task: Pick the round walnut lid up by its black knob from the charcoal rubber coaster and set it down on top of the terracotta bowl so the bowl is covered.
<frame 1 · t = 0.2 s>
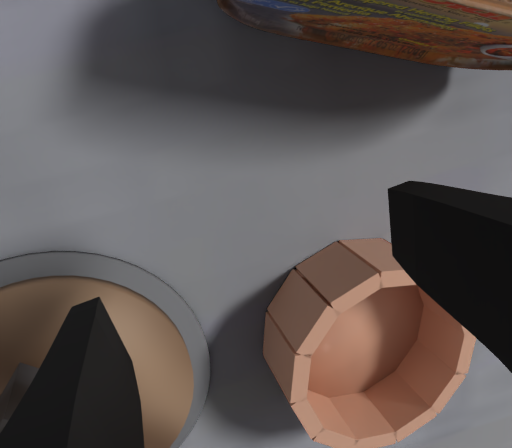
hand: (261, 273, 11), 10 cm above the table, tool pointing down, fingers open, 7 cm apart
lid: (62, 393, 21), resting on coaster
coaster: (63, 389, 21), on the table
bowl: (348, 323, 25), on the table
tin: (362, 14, 20), on the table
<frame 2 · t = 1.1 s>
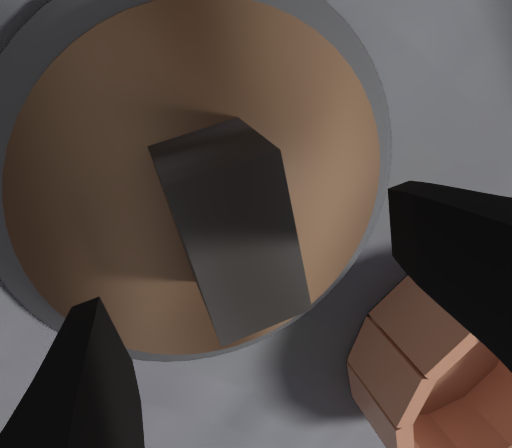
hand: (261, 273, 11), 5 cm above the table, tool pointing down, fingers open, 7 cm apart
lid: (209, 195, 15), resting on coaster
coaster: (207, 192, 15), on the table
bowl: (436, 340, 23), on the table
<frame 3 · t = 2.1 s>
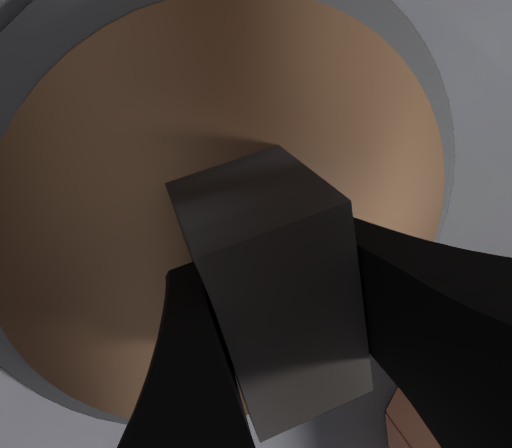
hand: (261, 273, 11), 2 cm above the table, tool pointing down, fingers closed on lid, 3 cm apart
lid: (238, 237, 12), resting on coaster, touching gripper
coaster: (235, 232, 13), on the table
bowl: (483, 384, 20), on the table
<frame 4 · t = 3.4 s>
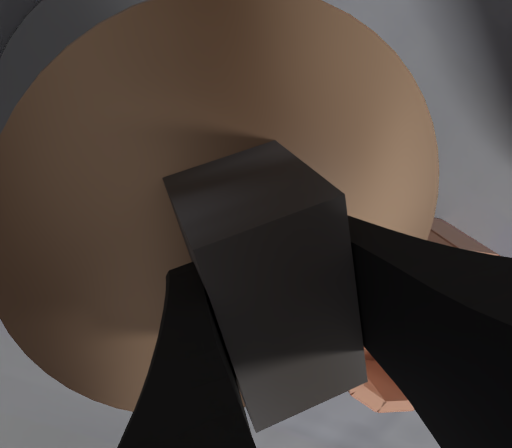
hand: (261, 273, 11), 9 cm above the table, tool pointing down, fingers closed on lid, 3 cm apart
lid: (235, 231, 12), point 7 cm above the table, touching gripper
coaster: (182, 151, 18), on the table
bowl: (389, 293, 26), on the table
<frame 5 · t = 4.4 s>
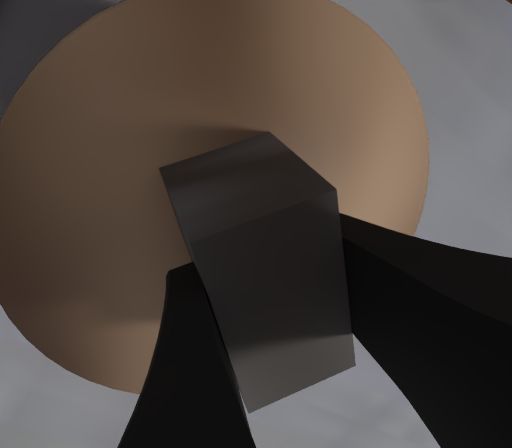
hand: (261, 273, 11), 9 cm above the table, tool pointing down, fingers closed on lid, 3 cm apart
lid: (229, 219, 13), point 7 cm above the table, touching gripper
when the fingers open (7 cm above the table, at t = 5.0 s): lid stays where it is, resting on bowl.
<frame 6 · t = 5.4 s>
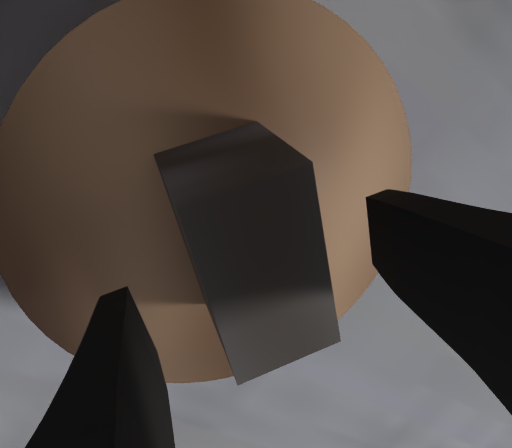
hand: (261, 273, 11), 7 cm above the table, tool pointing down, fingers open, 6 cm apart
lid: (222, 208, 13), point 4 cm above the table, touching bowl
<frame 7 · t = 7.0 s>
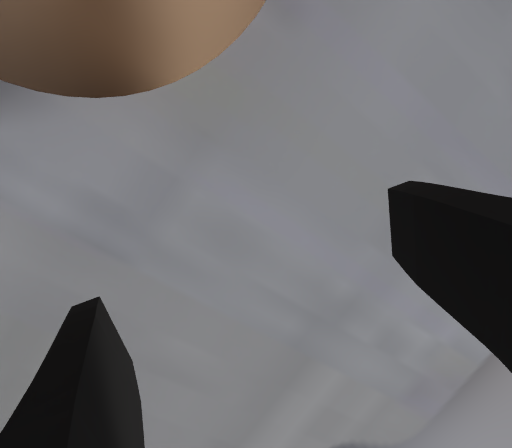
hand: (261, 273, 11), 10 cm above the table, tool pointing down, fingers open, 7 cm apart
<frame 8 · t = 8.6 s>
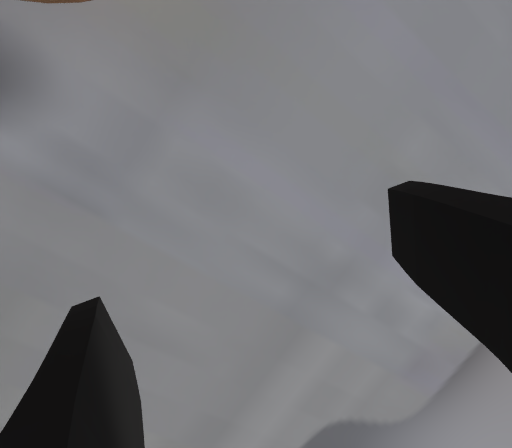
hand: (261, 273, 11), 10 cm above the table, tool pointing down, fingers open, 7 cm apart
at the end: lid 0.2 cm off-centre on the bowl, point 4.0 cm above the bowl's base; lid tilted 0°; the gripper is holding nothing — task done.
